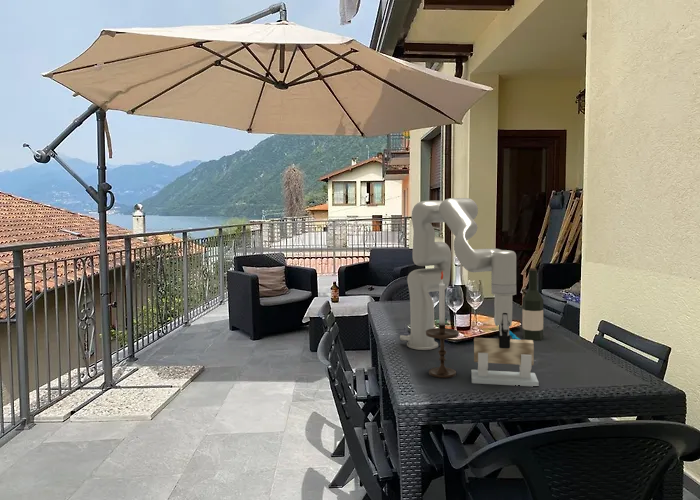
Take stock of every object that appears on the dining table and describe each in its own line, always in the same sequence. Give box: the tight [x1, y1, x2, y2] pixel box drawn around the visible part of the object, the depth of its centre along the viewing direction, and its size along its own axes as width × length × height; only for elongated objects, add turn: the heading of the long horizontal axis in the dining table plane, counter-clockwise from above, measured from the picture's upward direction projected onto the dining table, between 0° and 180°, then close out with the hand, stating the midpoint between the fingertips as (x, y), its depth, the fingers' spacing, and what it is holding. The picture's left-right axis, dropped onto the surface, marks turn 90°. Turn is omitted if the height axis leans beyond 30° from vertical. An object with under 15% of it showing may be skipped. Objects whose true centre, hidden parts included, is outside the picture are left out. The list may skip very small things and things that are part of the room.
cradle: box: [470, 353, 540, 387], centre depth 158 cm, size 20×9×10 cm, turn 77°
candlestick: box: [426, 271, 460, 379], centre depth 165 cm, size 11×11×35 cm
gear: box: [509, 330, 522, 340], centre depth 193 cm, size 11×6×10 cm
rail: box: [473, 337, 535, 366], centre depth 158 cm, size 18×4×7 cm, turn 75°
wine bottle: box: [521, 267, 544, 342], centre depth 209 cm, size 8×8×30 cm
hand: (503, 345), depth 158 cm, fingers open, 4 cm apart
